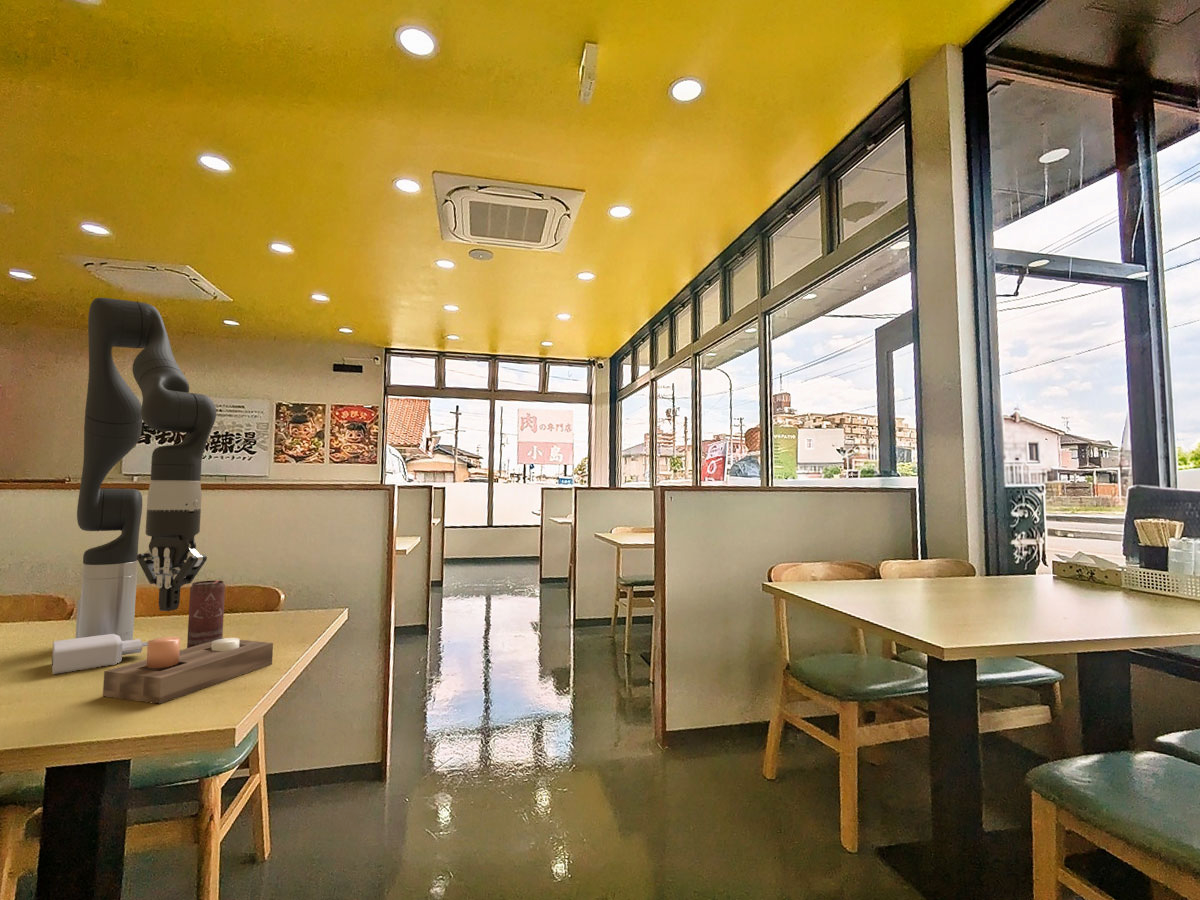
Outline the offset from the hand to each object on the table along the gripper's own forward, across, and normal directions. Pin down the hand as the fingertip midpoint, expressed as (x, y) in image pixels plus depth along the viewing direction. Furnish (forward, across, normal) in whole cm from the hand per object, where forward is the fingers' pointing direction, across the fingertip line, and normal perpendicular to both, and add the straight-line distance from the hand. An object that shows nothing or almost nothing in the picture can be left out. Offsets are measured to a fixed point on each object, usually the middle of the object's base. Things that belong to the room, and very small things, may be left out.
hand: (168, 610), depth 100 cm
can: (+13, -15, +21) cm, 29 cm away
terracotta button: (+9, 0, 0) cm, 9 cm away
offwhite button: (+12, 0, +12) cm, 17 cm away
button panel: (+13, 0, +6) cm, 14 cm away
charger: (+14, -26, +9) cm, 31 cm away
